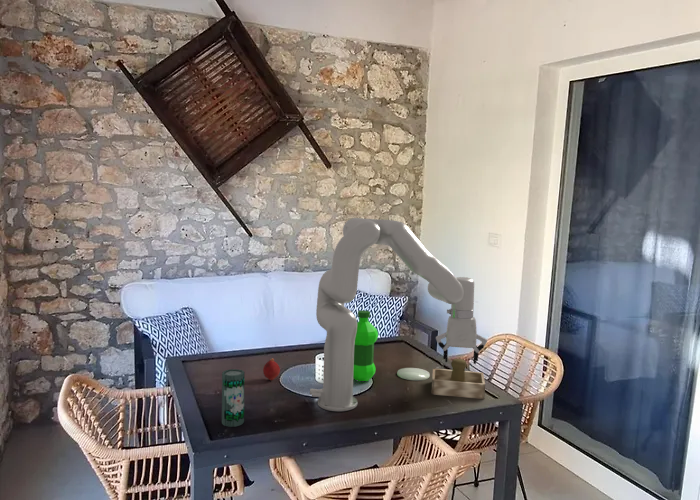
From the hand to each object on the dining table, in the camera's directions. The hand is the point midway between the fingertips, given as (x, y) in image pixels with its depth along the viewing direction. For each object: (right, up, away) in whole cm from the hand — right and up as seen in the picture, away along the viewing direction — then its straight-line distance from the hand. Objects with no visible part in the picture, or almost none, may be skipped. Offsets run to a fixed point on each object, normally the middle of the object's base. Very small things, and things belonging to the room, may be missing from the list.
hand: (460, 361), depth 200 cm
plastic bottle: (-34, -8, +9) cm, 36 cm away
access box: (-1, -10, +1) cm, 10 cm away
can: (-72, -12, -31) cm, 80 cm away
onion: (-66, -8, +5) cm, 67 cm away
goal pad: (-15, -8, +15) cm, 23 cm away
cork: (-1, -10, +1) cm, 10 cm away
